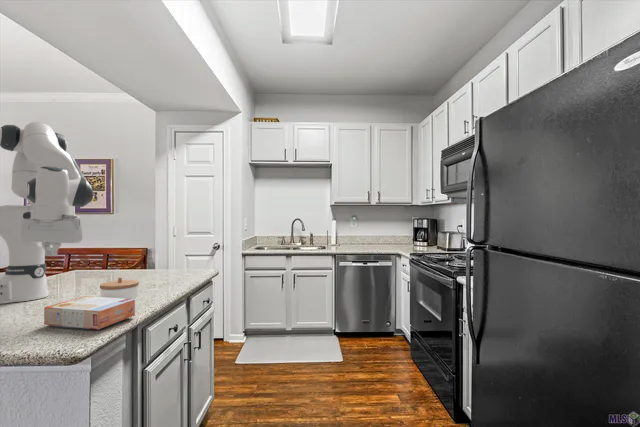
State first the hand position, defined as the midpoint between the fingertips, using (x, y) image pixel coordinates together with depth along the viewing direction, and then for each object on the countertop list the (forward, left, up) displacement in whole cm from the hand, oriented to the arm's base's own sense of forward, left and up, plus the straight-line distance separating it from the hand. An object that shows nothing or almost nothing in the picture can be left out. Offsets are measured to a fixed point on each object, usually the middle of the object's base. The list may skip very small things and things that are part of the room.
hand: (51, 255), depth 106 cm
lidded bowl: (+12, +17, -21) cm, 30 cm away
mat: (+16, 0, -21) cm, 27 cm away
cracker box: (+6, 0, -18) cm, 19 cm away
